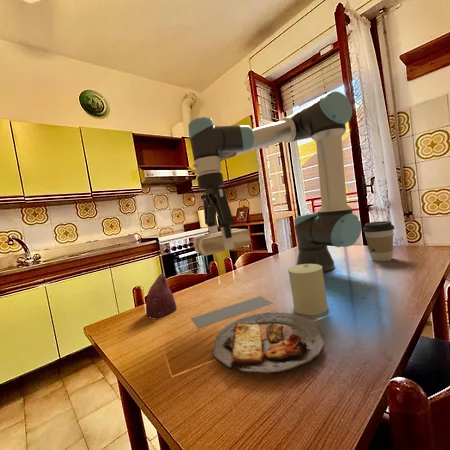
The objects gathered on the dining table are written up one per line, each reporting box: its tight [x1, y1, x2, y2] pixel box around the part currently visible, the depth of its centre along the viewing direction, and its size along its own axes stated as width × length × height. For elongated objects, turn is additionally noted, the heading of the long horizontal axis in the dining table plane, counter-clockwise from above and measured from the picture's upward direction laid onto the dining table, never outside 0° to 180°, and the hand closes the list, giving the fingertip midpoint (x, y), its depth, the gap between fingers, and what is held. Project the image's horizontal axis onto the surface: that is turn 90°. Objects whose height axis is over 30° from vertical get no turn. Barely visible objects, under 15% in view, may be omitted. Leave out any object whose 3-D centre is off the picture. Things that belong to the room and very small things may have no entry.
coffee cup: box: [362, 220, 395, 262], centre depth 105 cm, size 11×11×15 cm
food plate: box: [212, 311, 325, 375], centre depth 58 cm, size 25×23×4 cm
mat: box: [190, 295, 273, 329], centre depth 78 cm, size 8×24×1 cm, turn 111°
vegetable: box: [145, 272, 178, 319], centre depth 87 cm, size 10×10×15 cm
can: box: [287, 264, 329, 316], centre depth 71 cm, size 9×9×12 cm
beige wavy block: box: [192, 228, 252, 257], centre depth 77 cm, size 10×14×4 cm
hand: (222, 247), depth 77 cm, fingers closed on beige wavy block, 10 cm apart
